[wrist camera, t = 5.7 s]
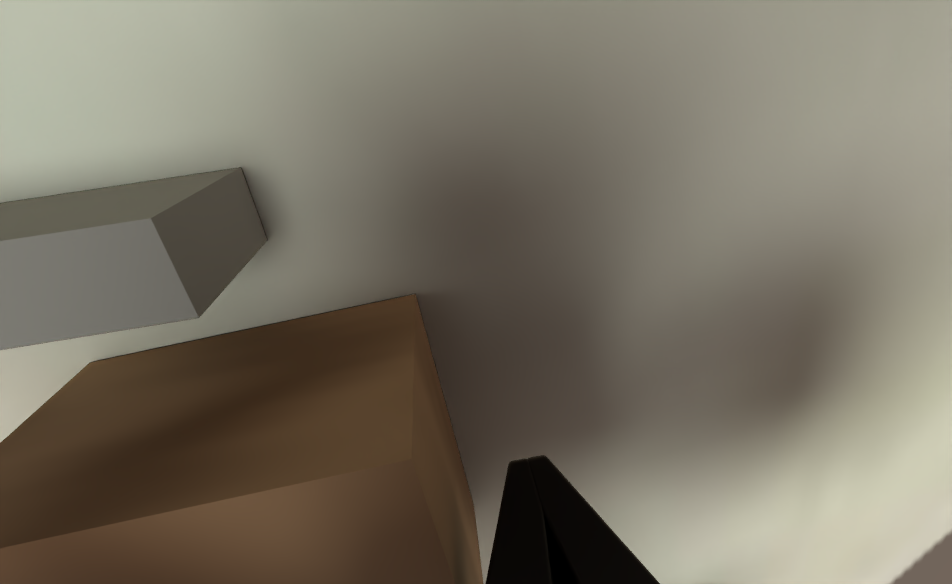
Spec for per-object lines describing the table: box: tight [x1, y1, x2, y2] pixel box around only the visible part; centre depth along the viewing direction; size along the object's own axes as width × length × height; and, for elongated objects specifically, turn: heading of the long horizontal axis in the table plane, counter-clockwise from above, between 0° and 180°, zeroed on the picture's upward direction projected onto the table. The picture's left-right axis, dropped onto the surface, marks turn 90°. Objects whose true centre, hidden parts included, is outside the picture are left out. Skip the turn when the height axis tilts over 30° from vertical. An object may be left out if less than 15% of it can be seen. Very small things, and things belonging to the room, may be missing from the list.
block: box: [0, 294, 483, 584], centre depth 9 cm, size 7×7×4 cm
